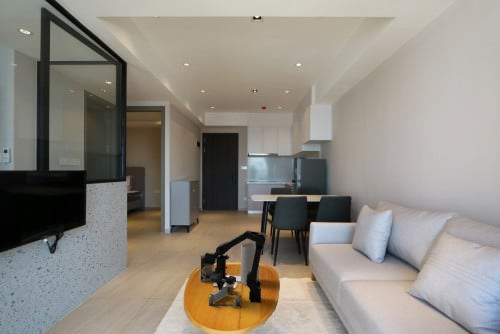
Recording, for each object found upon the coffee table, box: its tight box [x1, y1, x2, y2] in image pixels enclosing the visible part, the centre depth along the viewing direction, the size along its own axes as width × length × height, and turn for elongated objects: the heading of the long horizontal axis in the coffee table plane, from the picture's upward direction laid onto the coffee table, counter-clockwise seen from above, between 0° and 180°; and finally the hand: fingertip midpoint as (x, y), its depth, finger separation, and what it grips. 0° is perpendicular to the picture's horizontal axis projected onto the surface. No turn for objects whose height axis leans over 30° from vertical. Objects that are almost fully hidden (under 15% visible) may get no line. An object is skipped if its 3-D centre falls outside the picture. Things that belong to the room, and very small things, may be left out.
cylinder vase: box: [240, 242, 260, 286], centre depth 188 cm, size 12×12×25 cm
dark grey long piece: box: [208, 293, 242, 309], centre depth 155 cm, size 18×4×6 cm, turn 88°
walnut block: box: [225, 283, 235, 295], centre depth 172 cm, size 4×4×4 cm
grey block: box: [212, 285, 228, 304], centre depth 163 cm, size 12×2×5 cm, turn 147°
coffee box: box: [199, 254, 215, 283], centre depth 191 cm, size 9×6×16 cm
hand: (220, 291), depth 166 cm, fingers closed
